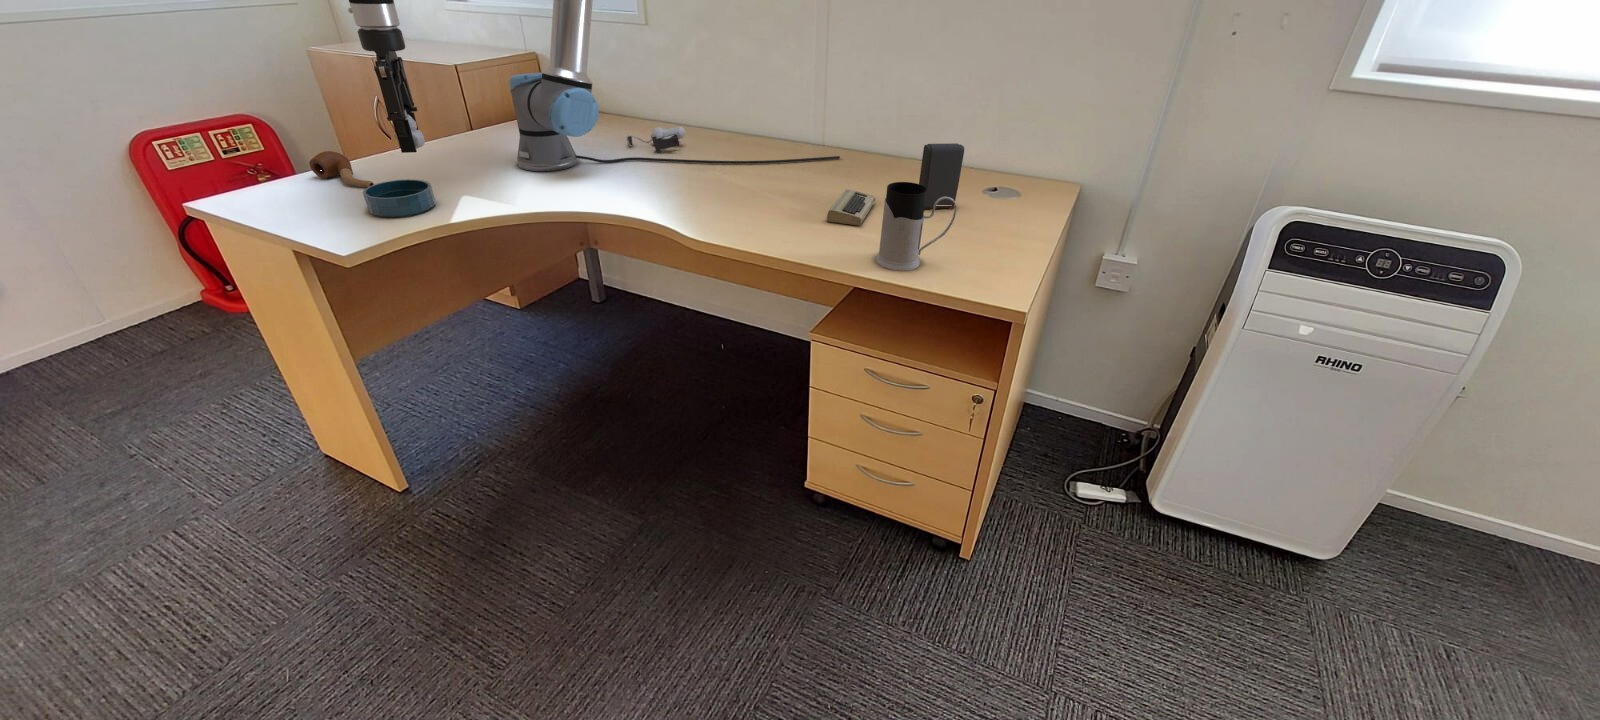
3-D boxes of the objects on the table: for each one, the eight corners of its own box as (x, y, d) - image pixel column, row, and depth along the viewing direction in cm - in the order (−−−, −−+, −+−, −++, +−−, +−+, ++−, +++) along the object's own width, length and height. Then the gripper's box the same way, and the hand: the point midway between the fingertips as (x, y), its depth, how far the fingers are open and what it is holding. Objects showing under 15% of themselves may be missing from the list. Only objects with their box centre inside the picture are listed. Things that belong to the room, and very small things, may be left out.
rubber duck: (434, 146, 140) (424, 108, 136) (412, 154, 135) (401, 114, 131) (412, 144, 141) (402, 105, 137) (390, 151, 136) (378, 111, 132)
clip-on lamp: (623, 160, 191) (680, 151, 187) (615, 139, 187) (673, 129, 183) (635, 146, 200) (689, 137, 196) (628, 126, 196) (683, 116, 193)
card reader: (950, 203, 159) (960, 142, 151) (956, 209, 156) (966, 146, 148) (914, 204, 158) (923, 142, 150) (920, 210, 155) (929, 146, 146)
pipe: (341, 170, 165) (332, 146, 162) (392, 182, 158) (384, 158, 155) (312, 178, 159) (302, 153, 156) (364, 190, 153) (355, 165, 149)
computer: (861, 227, 144) (862, 212, 142) (826, 222, 146) (827, 208, 144) (874, 205, 157) (876, 191, 155) (842, 200, 159) (843, 187, 157)
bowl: (440, 196, 151) (435, 178, 149) (430, 216, 140) (425, 196, 138) (377, 200, 148) (371, 181, 145) (362, 220, 137) (355, 200, 135)
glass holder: (875, 251, 133) (883, 179, 125) (944, 256, 132) (957, 184, 124) (876, 268, 125) (884, 193, 117) (949, 274, 125) (962, 198, 116)
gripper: (368, 22, 132) (401, 137, 145) (343, 33, 117) (382, 160, 129) (409, 23, 134) (438, 136, 147) (390, 33, 119) (424, 159, 131)
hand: (412, 147), depth 138 cm, fingers closed on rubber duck, 6 cm apart
